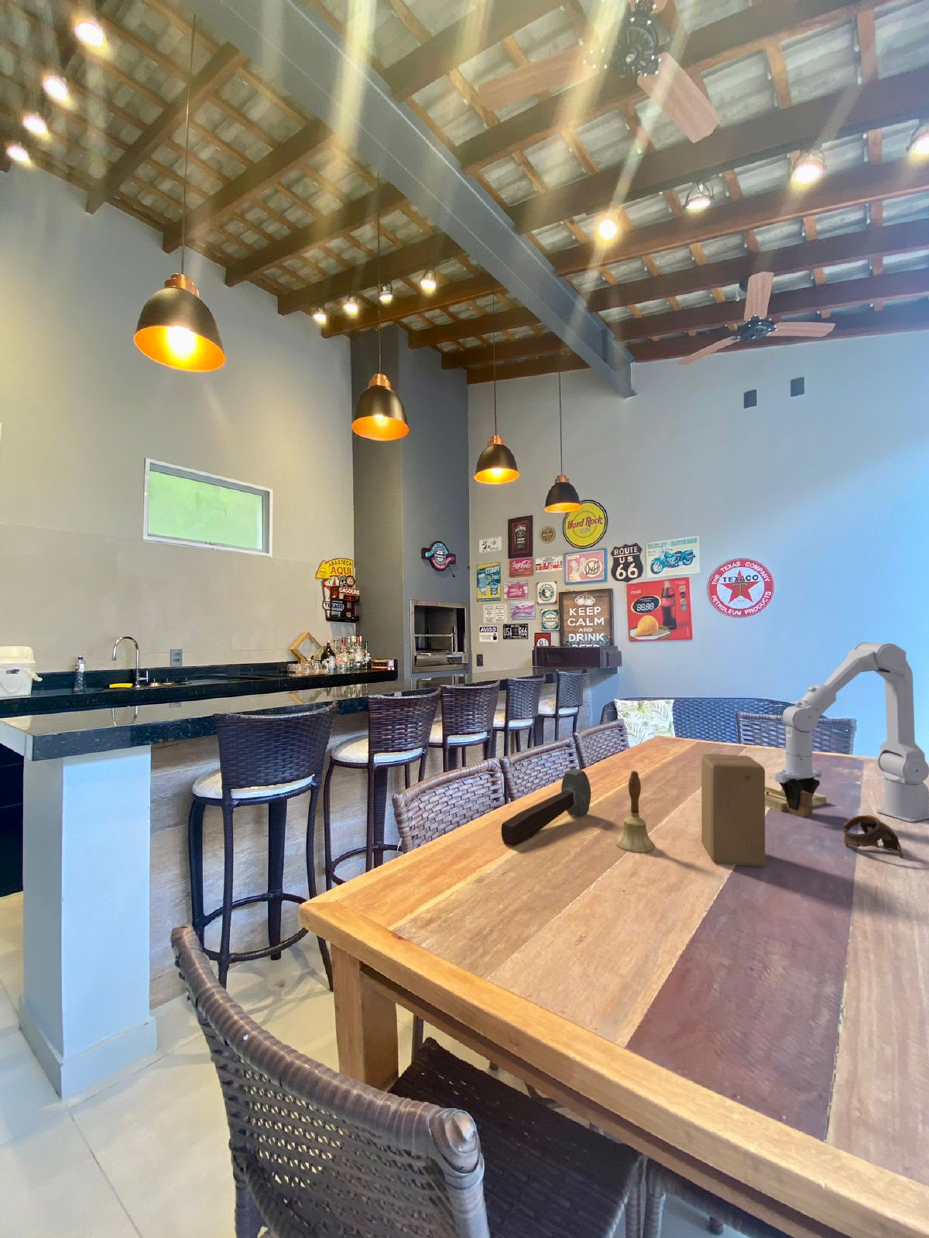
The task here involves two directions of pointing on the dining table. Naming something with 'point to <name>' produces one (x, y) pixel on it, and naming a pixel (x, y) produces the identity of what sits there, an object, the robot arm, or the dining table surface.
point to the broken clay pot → (871, 834)
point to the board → (780, 802)
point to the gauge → (804, 804)
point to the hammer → (550, 809)
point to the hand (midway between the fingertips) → (799, 807)
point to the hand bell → (634, 823)
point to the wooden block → (733, 809)
